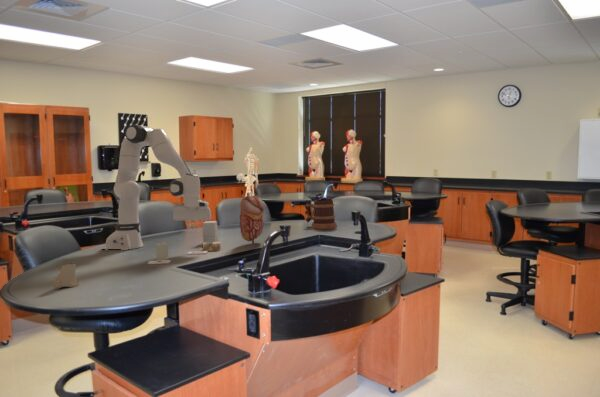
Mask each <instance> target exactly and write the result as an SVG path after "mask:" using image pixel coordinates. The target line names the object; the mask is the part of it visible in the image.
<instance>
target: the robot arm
mask: <svg viewBox="0 0 600 397" xmlns="http://www.w3.org/2000/svg"><path fill="white" fill-rule="evenodd" d="M150 147H151V150H152V153H153V155H154V157H155V158H156V160H157V161H159V163H162V164H166V165H168V166H171V167H172V168H174V169H175V170H176V171H177V172H178V174H179V176H180V177H179V178H177V179H176V178H175V179H173V180H171V182H169V186H168V189H169V193H170V194H171V195H172V197H176V198H177V197H178V198H180V197H183V202H182V203H181V202H179V203H178V202H177V203H174V204H173V205H172V211H173V212H172V220H173V221H177V222H178V221H186V222H187V224H188V226H189V227H188V228H189V230H194V229H195V230H196V225H197V223H198V221H210V220H212V211H211V208H210V207H209V205H210V204H209V202H208V201H205V200H203V199H201V193H200V192H201V179H200V176H199V175H198V174H197V173H192V171H191V170H190V169H189V167H188V165H187V164H186V162H185V160H184V158H183V157H182V156H181V155H180V154H179V153H178V152H177V150H176V149H175V148H174V145H173V143H172V141H171V139H170V138H169V136H168V134H167V133H166V132H165V130H164V129H162V128H153V127H150V126H147V125H140V124H130V125H128V126H127V127H126V129H125V138H123V140H122V142H121V147H120V151H119V157H118V159H119V160H118V169H117V174H116V177H115V182H114V186H113V192H114V195H115V196H116V197H117V198H119V203H118V204H119V205H118V210H117V213H118V214H117V215H118V216H117V217H118V223H117V224H116V225H115V227H114V228H115V231H114V232H112V233H111V234H110V235H109V236H108V237H107V238H106V239H105V240H106V241H105V245H104V246H105V247H104V246H102V247H101V250H102V249H121V250H120V251H129V250H133V249H139V248H142V247H144V243H143V241H142V236H141V222H140V216H139V204H140V195H141V192H142V189H141V186H140V185H139V184H138V183H137V182H136V181H137V176H138V173H139V171H140V162H141V160H140V159H141V151H142V149H143V148H145V149H147V148H150ZM191 221H193V222H194V224H191ZM103 247H104V248H103ZM128 249H129V250H128Z"/></svg>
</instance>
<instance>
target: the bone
mask: <svg viewBox="0 0 600 397" xmlns="http://www.w3.org/2000/svg"><path fill="white" fill-rule="evenodd" d="M76 268H77V263H72V262H66V263H62V266H61V269H60V270H59V272H58V273H57V275H56V277H55V279H54V281H53V287H54V289H55V290H58V289H61V288H68V287H70V288H74V287H77V286H78V285H79V280H77V278H76Z"/></svg>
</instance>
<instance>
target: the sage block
mask: <svg viewBox="0 0 600 397" xmlns="http://www.w3.org/2000/svg"><path fill="white" fill-rule="evenodd" d="M155 256H156V259H155V260H156V261H158V260H169V257H170V255H169V242H157V243H156V244H155Z"/></svg>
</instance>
